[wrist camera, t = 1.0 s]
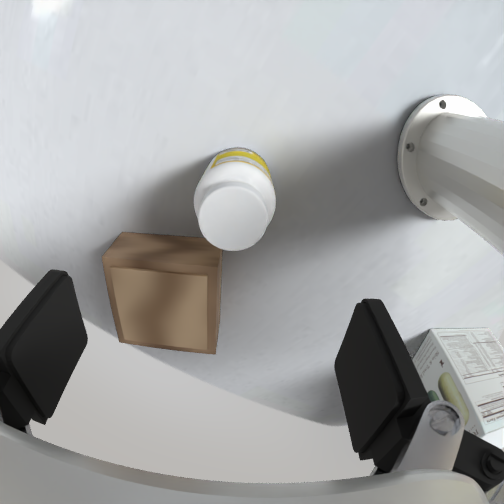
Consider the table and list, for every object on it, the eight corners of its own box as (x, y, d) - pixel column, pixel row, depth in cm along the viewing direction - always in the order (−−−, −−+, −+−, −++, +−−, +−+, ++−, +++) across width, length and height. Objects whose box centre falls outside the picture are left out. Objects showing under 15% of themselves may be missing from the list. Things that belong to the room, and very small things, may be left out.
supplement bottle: (237, 218, 28) (230, 277, 19) (194, 176, 26) (164, 218, 17) (283, 178, 26) (299, 222, 17) (239, 133, 24) (232, 152, 16)
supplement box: (429, 326, 35) (486, 434, 19) (489, 326, 35) (543, 409, 20) (390, 390, 41) (421, 486, 25) (450, 383, 42) (485, 463, 26)
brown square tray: (223, 239, 29) (217, 268, 24) (219, 321, 33) (215, 356, 29) (122, 232, 28) (100, 258, 24) (133, 312, 33) (118, 343, 28)
